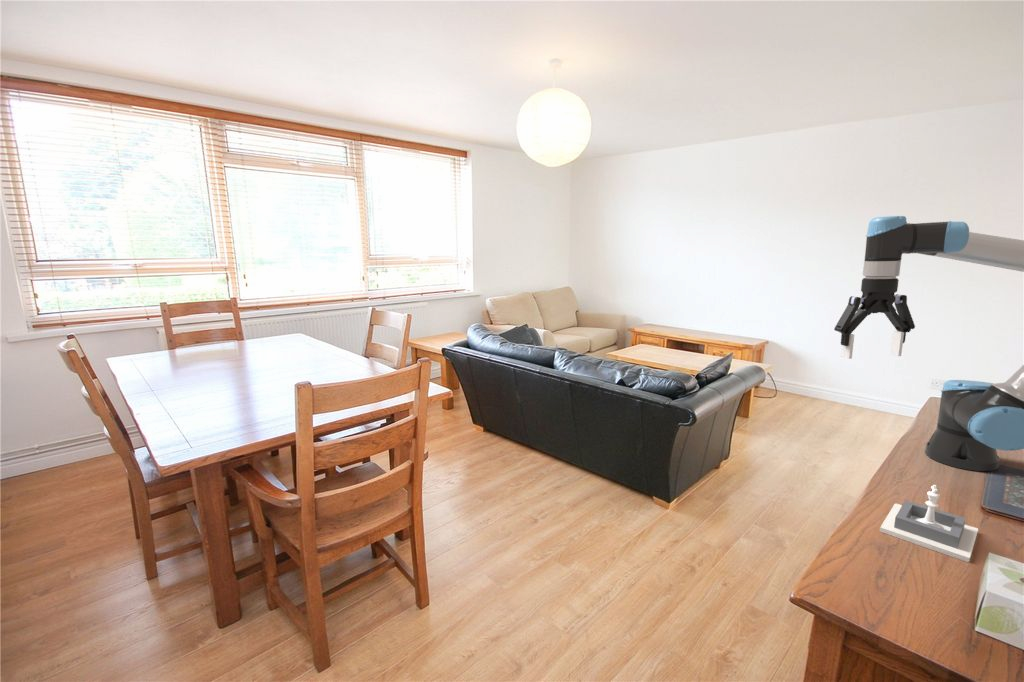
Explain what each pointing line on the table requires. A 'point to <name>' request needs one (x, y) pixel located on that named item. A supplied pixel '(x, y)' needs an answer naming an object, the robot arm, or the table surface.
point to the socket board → (931, 530)
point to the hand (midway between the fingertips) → (871, 356)
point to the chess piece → (931, 508)
